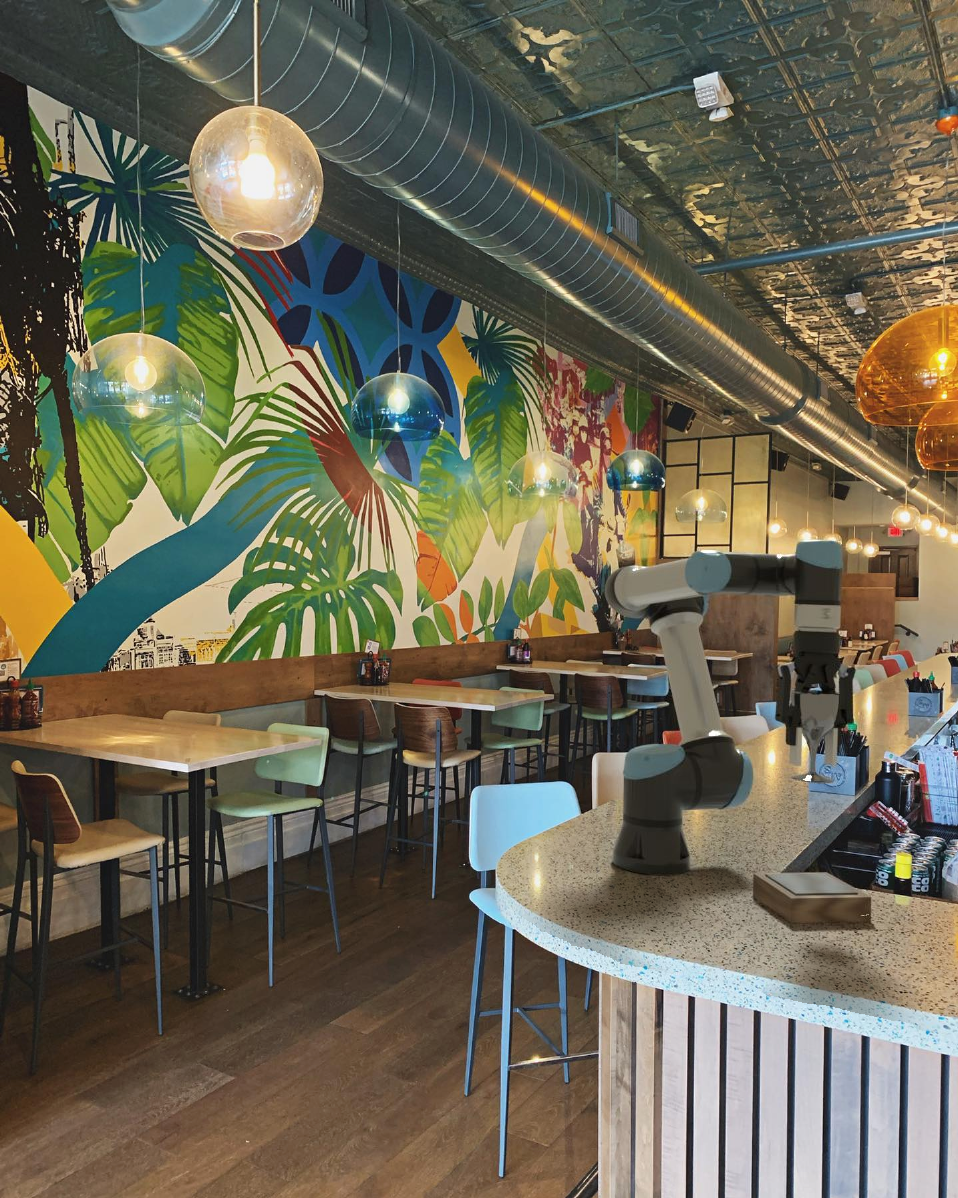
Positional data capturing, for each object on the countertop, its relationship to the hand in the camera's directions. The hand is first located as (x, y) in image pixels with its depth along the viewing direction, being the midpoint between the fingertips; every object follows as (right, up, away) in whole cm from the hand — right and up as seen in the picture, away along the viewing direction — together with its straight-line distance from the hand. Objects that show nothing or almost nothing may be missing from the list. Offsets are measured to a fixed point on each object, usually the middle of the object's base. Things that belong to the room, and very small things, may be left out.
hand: (812, 764), depth 153 cm
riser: (-1, -25, 0) cm, 25 cm away
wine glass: (0, -3, 0) cm, 3 cm away
